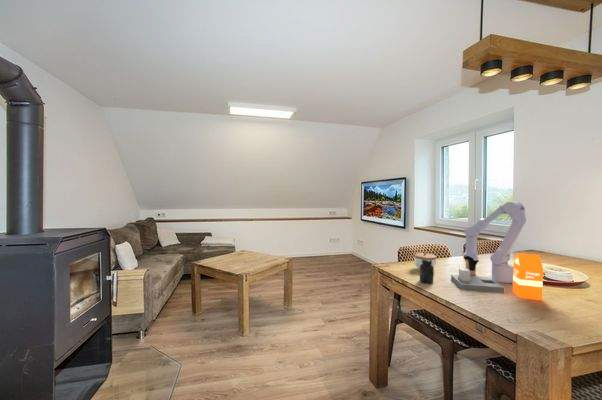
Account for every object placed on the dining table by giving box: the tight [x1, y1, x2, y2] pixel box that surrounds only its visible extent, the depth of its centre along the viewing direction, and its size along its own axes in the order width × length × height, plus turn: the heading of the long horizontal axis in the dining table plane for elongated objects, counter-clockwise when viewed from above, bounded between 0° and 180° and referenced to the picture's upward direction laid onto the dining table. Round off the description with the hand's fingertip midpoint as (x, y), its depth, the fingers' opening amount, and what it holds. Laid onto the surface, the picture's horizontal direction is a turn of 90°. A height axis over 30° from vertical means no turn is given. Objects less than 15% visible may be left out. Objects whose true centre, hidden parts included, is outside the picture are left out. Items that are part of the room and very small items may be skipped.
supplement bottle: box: [419, 259, 435, 285], centre depth 149 cm, size 7×7×12 cm
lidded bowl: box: [413, 251, 437, 271], centre depth 171 cm, size 13×13×11 cm
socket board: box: [450, 267, 505, 293], centre depth 144 cm, size 19×16×8 cm
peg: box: [465, 259, 477, 276], centre depth 164 cm, size 4×4×8 cm
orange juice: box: [512, 252, 544, 301], centre depth 130 cm, size 8×9×20 cm
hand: (470, 269), depth 164 cm, fingers closed on peg, 4 cm apart
